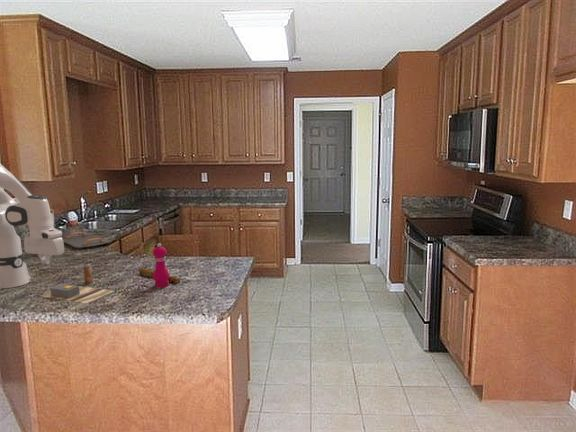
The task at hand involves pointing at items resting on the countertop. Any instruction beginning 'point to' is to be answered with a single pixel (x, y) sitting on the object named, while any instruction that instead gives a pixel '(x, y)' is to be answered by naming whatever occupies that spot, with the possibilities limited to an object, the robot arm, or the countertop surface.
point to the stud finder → (65, 291)
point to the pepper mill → (160, 267)
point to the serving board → (85, 240)
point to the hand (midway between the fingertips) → (46, 263)
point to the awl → (88, 273)
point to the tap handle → (150, 273)
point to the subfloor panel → (83, 295)
